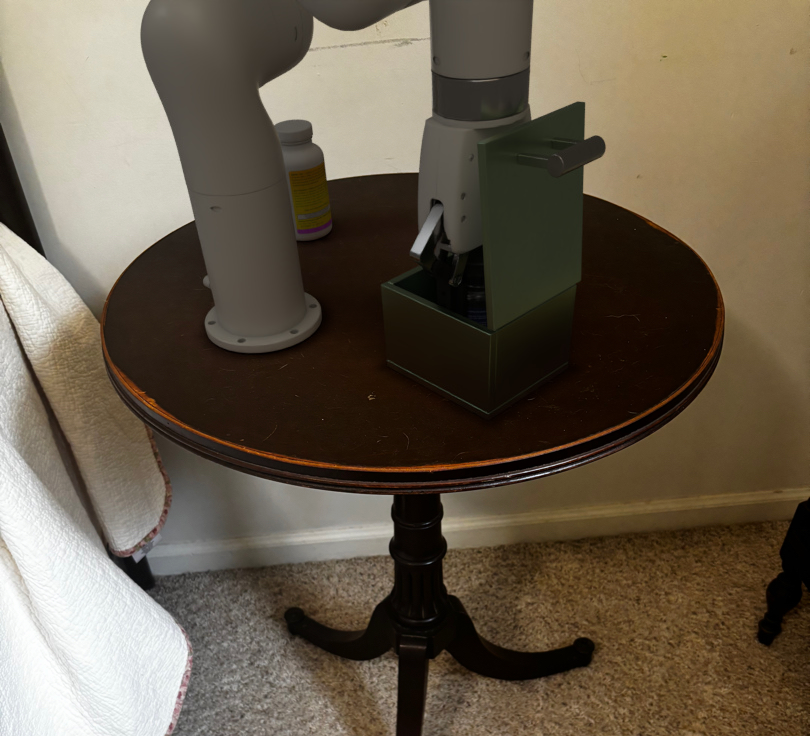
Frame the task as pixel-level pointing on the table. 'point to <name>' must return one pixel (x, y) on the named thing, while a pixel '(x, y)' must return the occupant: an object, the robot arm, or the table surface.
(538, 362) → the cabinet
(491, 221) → the lid
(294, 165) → the supplement bottle
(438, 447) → the table surface
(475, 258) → the pill bottle
